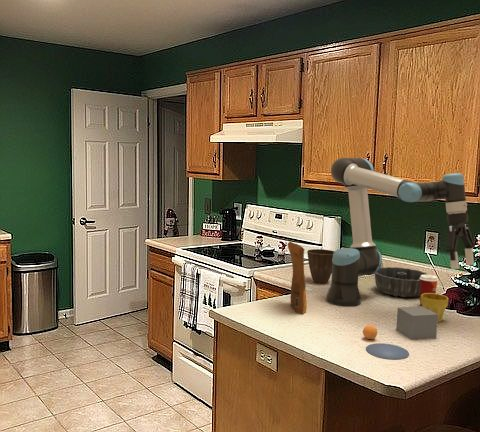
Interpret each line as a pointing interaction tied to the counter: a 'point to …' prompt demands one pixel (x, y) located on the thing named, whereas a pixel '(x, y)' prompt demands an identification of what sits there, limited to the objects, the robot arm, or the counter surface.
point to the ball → (370, 332)
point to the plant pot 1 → (320, 264)
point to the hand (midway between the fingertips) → (462, 266)
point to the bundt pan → (399, 281)
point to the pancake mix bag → (298, 279)
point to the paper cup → (427, 284)
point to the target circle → (387, 351)
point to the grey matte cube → (416, 322)
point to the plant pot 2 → (435, 303)
